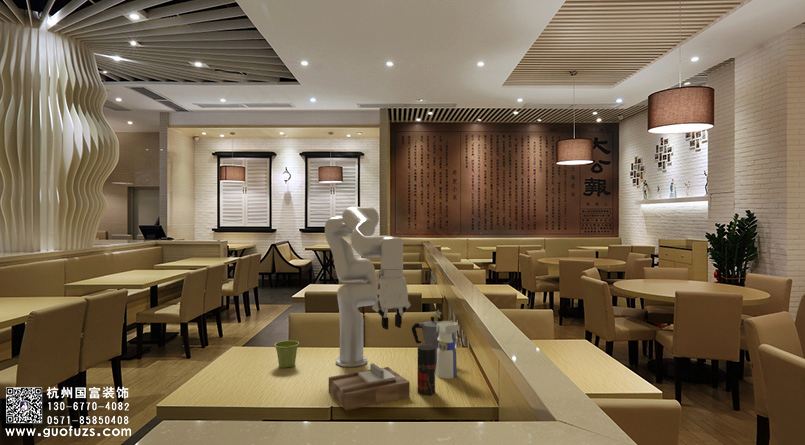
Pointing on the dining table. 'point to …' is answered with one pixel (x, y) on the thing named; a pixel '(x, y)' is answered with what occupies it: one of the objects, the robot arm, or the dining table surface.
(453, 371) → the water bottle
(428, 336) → the coffeepot
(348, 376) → the socket block
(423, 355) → the deodorant
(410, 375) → the dining table surface
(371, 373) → the panel
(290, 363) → the plant pot
